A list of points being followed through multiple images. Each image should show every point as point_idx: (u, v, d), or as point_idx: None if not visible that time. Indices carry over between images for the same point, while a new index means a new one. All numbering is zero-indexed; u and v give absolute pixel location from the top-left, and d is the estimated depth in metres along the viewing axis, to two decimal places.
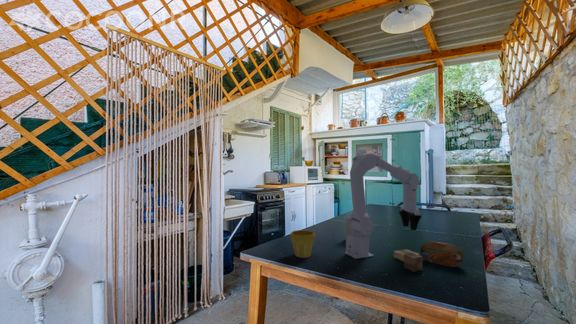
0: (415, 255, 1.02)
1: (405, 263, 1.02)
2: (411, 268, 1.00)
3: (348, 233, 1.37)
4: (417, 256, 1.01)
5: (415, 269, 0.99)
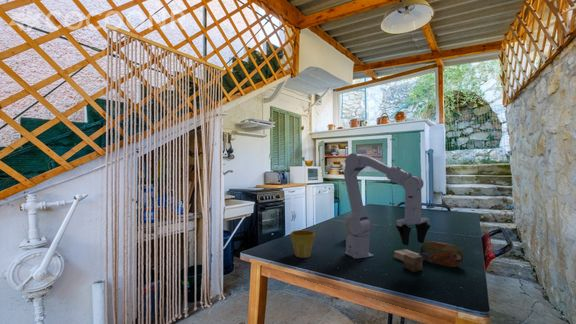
0: (415, 255, 1.02)
1: (405, 263, 1.02)
2: (411, 268, 1.00)
3: (348, 233, 1.37)
4: (417, 256, 1.01)
5: (415, 269, 0.99)
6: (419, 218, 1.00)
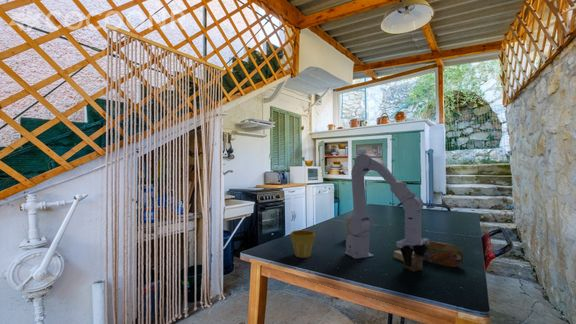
0: (415, 255, 1.02)
1: None
2: (411, 268, 1.00)
3: (348, 233, 1.37)
4: (417, 256, 1.01)
5: (415, 269, 0.99)
6: (419, 240, 1.00)
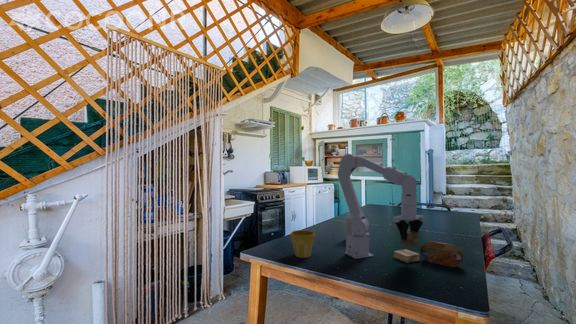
0: (411, 231, 1.08)
1: (402, 239, 1.09)
2: (407, 243, 1.06)
3: (348, 233, 1.37)
4: (413, 232, 1.07)
5: (411, 244, 1.06)
6: (414, 215, 1.06)
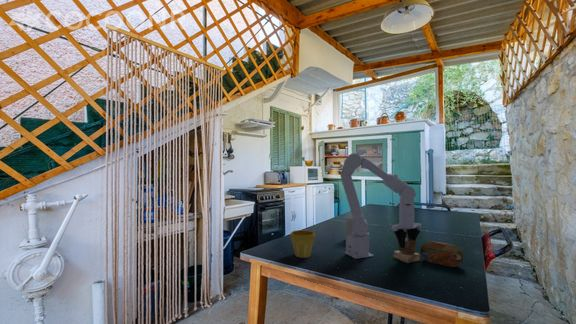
0: (409, 239, 1.12)
1: (400, 247, 1.13)
2: (405, 251, 1.10)
3: (348, 233, 1.37)
4: (411, 240, 1.11)
5: (409, 252, 1.10)
6: (412, 224, 1.10)
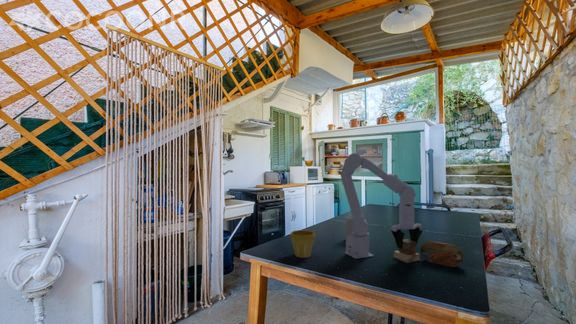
0: (409, 240, 1.12)
1: None
2: (406, 252, 1.10)
3: (348, 233, 1.37)
4: (411, 241, 1.11)
5: (409, 253, 1.10)
6: (412, 224, 1.10)
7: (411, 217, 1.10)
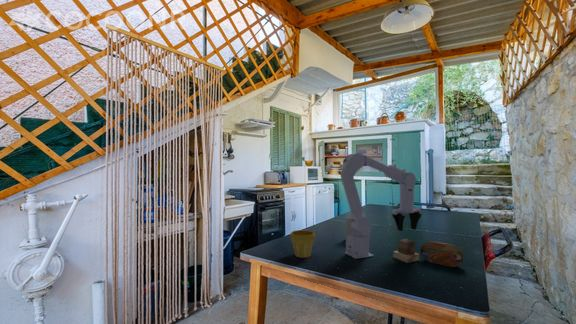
0: (408, 240, 1.13)
1: (399, 247, 1.13)
2: (404, 252, 1.11)
3: (348, 233, 1.37)
4: (410, 241, 1.12)
5: (408, 253, 1.10)
6: (412, 208, 1.17)
7: (411, 201, 1.17)
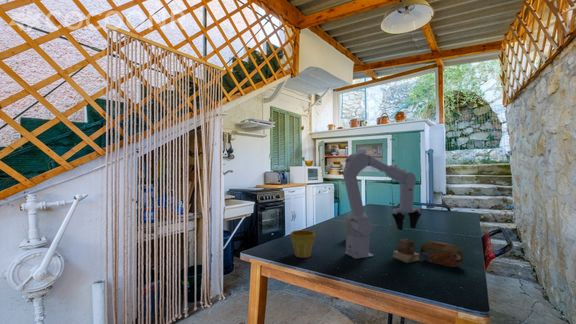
0: (408, 240, 1.13)
1: (399, 247, 1.13)
2: (404, 252, 1.11)
3: (348, 233, 1.37)
4: (410, 241, 1.12)
5: (407, 252, 1.10)
6: (411, 207, 1.19)
7: (410, 201, 1.19)
